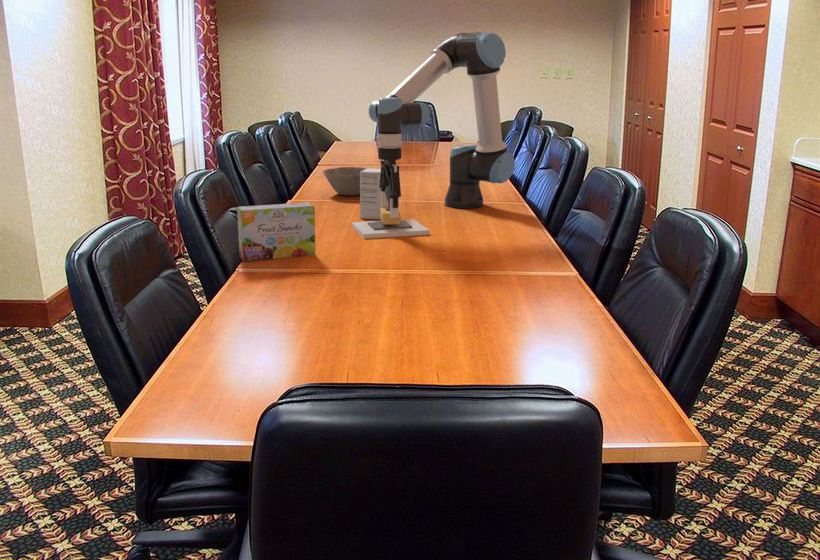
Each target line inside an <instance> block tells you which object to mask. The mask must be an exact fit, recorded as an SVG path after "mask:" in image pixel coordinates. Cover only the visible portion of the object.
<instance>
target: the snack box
mask: <svg viewBox="0 0 820 560" xmlns="http://www.w3.org/2000/svg"><path fill="white" fill-rule="evenodd" d="M315 209H316V208H315V205H314V204H312V203H311V202H294V203H279V204H278V203H277V204H264V205H263V204H261V205H247V206H245V205H244V206H243V205H242V206H237V207H236V211H237V213H236V214H237V231H238V235H237V236H238V251H239V258H240V259H241V261H242V262H251V261H262V260H263V261H265V260H274V259H276V260H277V259H286V258H298V257H299V258H300V257H309V256H316V212H315V211H316V210H315Z"/></svg>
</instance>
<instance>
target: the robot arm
mask: <svg viewBox="0 0 820 560" xmlns="http://www.w3.org/2000/svg"><path fill="white" fill-rule="evenodd" d="M505 58H506V45H505V43H504V41H503V39H502V38H501V37H500V36H499V35H498V34H496V33H495V32H486V31H485V32H484V31H483V32H480V31H479V32H459V33H457V34H454V35H452V36H450V37H449V38H447V39H445V40H444V41H443V42H440V44H438V45H437V46H436V47H435V48H434V49H433V50H432V51H431V52H430V54H429V57H428V58H427V59H426V60H425V61H424V62H423V63H422V64H421V65H420V66H418V67H417V68H416V69H415V70H414V71H413V72H412V73H411V74H410V75H409V76H408V77H407V78H405V79H404V80H403V81H402V82H401V83H400V84H399V85H397V86H396V87H395V88H394V89H393V91H391V92H389V94H388V95H387V96H385V97H381V98H379V99H377V100H373V101H372V102H371V103H370V105H369V107H368V116H369V118H370V120H371V121H372V122H373V123H374V122H375V123H377V129H378V130H377V131H378V134H377V135H378V136H376V140H378V141H377V143H378V146H379V147H378V151H377V152H378V153H377V157H378V159H379V160H381V161H380V169H381V173H380V185H379V188H381V191H382V192H381V208H388V201H387V198H386V195H385V189H386V187H387V186H389V185H390V192H391V196H389V198H390V218H398V217H399V212H400V209H399V208H400V207H399V206H400V198H401V197H402V191H401V178H400V166H399V165H397V162H396V161H399V160H401V159H402V147H401V146H402V144H403V141H402V139H403V137H402V135H403V133H402V131H403V130H402V129H403V128H404V127H420V126H425V125H426V124H427V123H428V122H429V120H430V117H431V112H430V111H431V110H430V107H429V106H428V105H427V104H426V103H424V102H418V101H416V100H417V99H418V98H420V96H422V95H423V94H424V92H426V91H427V90H428V89H429V88H430V87H431V86H433V84H435V82H437V81H438V79H440V78H441V77H442V76H443V75H445V74H449V73H450V72H451V71H453V70H454V69H456V68H466V74H467V76H468V77H469V78H471V80H472V90H473V100H474V109H475V118H476V128H477V137H478V138H477V139H478V144H470V145H459V146H458V145H457V146H453V147H452V148H451V149H450V155H449V185H448V189H447V191H446V194H445V197H444V205H445V206H446V207H449V208H456V209H475V208H480V207H483V206H484V196H483V193H482V191H481V186H480V183H481V182H486V183H491V184H504V183H506V182H507V181H508V180H509V179H511V176H512V175H513V173H514V171H515V166H516V160H515V157H514V156H515V155H513V154H512V153H511V152H508V146H507V143H506V142H504V141H503V137H502V135H503V134H502V126H501V125H502V124H501V115H500V114H501V113H500V103H499V101H500V100H499V93H498V92H499V91H498V81H497V76H498V74H499V73H500V71H501V67H502V65H503V64H504V62H505ZM415 101H416V102H415Z"/></svg>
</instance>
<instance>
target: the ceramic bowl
mask: <svg viewBox="0 0 820 560" xmlns="http://www.w3.org/2000/svg"><path fill="white" fill-rule="evenodd" d="M365 169H370V167H369V168H366V167H360V166H359V167H358V166H356V167H355V166H345V167H343V166H341V167H334V168H328V169H327V168H326V169H324V170H322V173H323V175H324V176H325V178H326V180H327V181H328V183H329V184H330V186H331V188H332V189H333V191H335V192H336V193H337V194H338V195H342V196H358V195H360V172H361V171H363V170H365Z"/></svg>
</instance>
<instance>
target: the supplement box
mask: <svg viewBox="0 0 820 560" xmlns="http://www.w3.org/2000/svg"><path fill="white" fill-rule="evenodd" d="M380 173H381V168H369V169H365V170H363V171H361V172H360V194H359V195H360V196H359V200H360V201H359V202H360V203H359V205H360V206H359V209H360V210H359V211H360V213H359V215H360V216H359V218H360V219H368V220H369V219H371V220H381V218H380V208H381V192H382V191H381V188H379V185H380Z"/></svg>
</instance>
